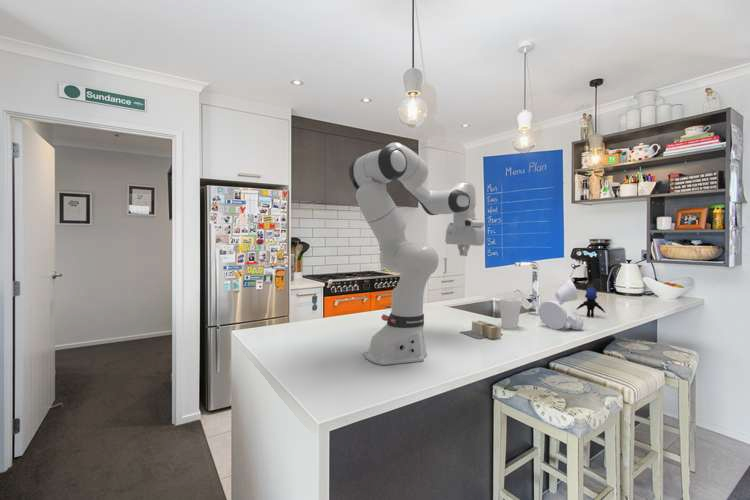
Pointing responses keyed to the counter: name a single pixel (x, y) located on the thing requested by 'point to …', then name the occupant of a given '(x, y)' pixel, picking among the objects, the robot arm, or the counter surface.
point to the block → (486, 329)
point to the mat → (473, 334)
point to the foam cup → (509, 312)
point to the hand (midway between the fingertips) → (463, 255)
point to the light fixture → (561, 309)
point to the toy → (591, 302)
